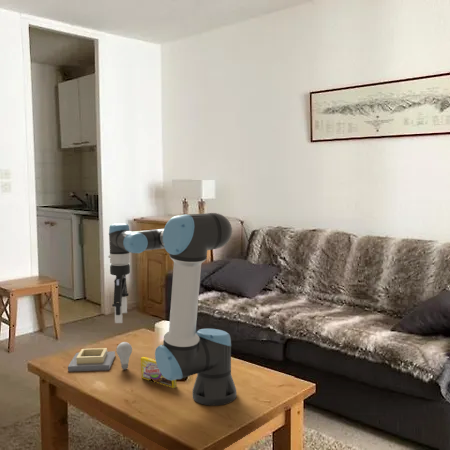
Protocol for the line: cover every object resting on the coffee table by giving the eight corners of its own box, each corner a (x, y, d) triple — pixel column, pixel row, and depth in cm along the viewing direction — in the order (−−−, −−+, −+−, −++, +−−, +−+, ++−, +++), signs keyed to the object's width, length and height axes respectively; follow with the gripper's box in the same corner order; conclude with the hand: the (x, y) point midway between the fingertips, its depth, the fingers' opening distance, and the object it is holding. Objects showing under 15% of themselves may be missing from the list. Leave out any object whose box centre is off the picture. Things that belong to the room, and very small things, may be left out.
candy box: (140, 378, 197) (140, 357, 196) (144, 377, 199) (144, 355, 198) (173, 388, 188) (172, 366, 187) (177, 386, 189) (176, 364, 188)
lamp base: (109, 370, 206) (109, 358, 205) (68, 371, 205) (67, 360, 204) (115, 355, 222) (114, 345, 221) (76, 357, 221) (76, 346, 220)
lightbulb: (134, 366, 209) (133, 340, 208) (130, 372, 203) (129, 345, 202) (119, 366, 209) (118, 339, 208) (114, 372, 203) (114, 344, 202)
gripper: (114, 258, 213) (116, 309, 216) (104, 270, 188) (106, 327, 191) (133, 258, 214) (134, 308, 216) (125, 270, 189) (126, 327, 191)
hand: (121, 317), depth 203 cm, fingers open, 13 cm apart
